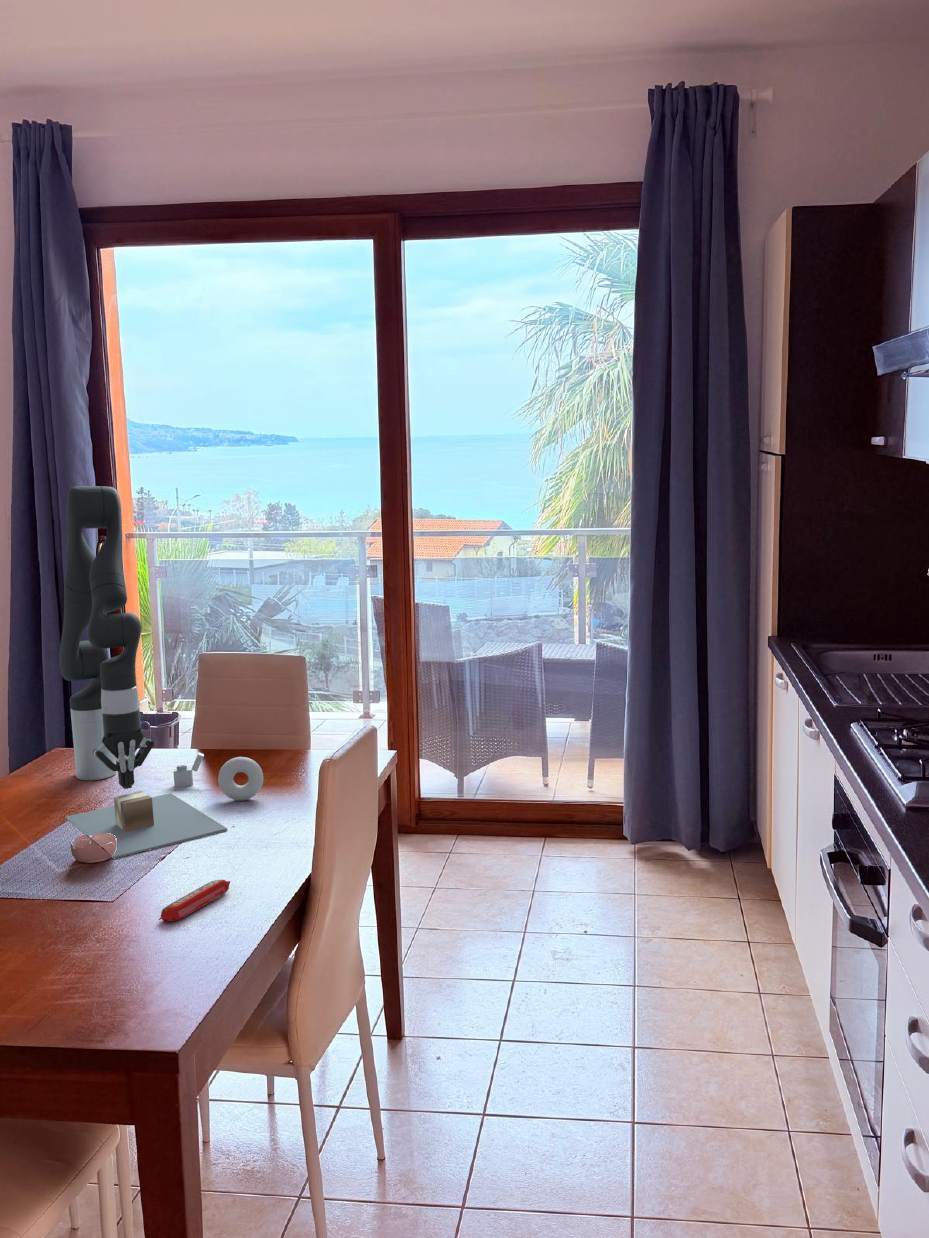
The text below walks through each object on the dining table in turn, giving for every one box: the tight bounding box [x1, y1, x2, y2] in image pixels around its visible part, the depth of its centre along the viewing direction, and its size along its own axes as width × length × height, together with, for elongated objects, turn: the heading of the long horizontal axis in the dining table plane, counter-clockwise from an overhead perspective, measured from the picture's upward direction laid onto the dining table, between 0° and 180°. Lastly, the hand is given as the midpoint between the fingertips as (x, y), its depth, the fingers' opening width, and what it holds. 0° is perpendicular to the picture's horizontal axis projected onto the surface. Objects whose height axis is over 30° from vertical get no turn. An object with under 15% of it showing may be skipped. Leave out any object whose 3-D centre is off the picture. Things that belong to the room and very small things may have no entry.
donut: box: [217, 756, 264, 802], centre depth 247 cm, size 10×4×10 cm, turn 97°
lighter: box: [172, 752, 205, 788], centre depth 258 cm, size 7×2×8 cm, turn 100°
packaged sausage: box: [158, 879, 231, 923], centre depth 192 cm, size 16×4×3 cm, turn 153°
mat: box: [64, 792, 228, 860], centre depth 233 cm, size 30×24×1 cm
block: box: [113, 790, 154, 832], centre depth 232 cm, size 6×6×6 cm
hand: (126, 787), depth 234 cm, fingers closed
